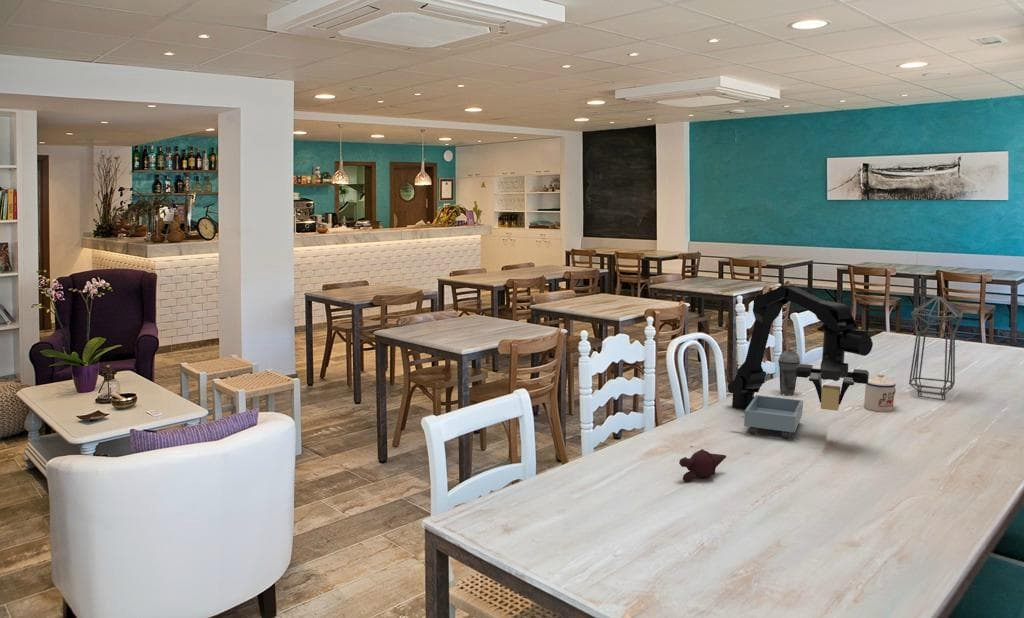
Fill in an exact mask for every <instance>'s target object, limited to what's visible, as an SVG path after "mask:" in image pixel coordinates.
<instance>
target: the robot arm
mask: <svg viewBox="0 0 1024 618" xmlns="http://www.w3.org/2000/svg"><path fill="white" fill-rule="evenodd" d="M789 303H792V304H794V305H796V306H799V307H801V308H803V309H804V310H807V311H809V312H810V313H812V314H814V315H815V317H816V319H817V320H818V321H820V322H821V323H822V325H820V327H818V328H817V332H822V333H823V340H822V341H823V344H822V355H821V357H822V358H821V362H820V368H816V367H815V368H814V367H813V364H807V363H806V364H805V363H803V364H802V363H799V365H798V367H797V368H796V377H797V378H805V379H807V378H808V381H809V382H812V383H813V385H814V387H815V390H816V394H817V396H818V401H819V403H820V404H821V394H822V387H823V385H822V384H823V383H822V381H823V380H824V381H826V380H832V381H833V382H834V381H835V382H837V381H840V379H842V382H841V386H840V396H839V406H841V403H842V401H843V400H844V399H843V398H844V396H845V394H846V392H847V390H848V388H849V387H850V386H854V385H855V384H864V385H866V384H868V379H869V377H870V375H869V374H870V373H869V371H868V370H867V369H858V368H854V369H853V371H849V363H847V362H845V353H848V354H849V353H850V354H855V355H858V356H862V357H863V356H864V357H865V356H868V355H869V354H870V353H871V352H872V349H873V346H874V344H873V340H872V337H871V336H870V335H869V331H868V330H867V329H859V326H858V324H857V322H856V320H855V319H854V317H853V314H852V311H851V308H850V306H848V305H847V304H845V303H840V302H836V301H828V300H824V299H822V298H820V297H818V296H816V295H814V294H812V293H809V292H807V291H805V290H803V289H801V288H799V287H797V286H796V285H795V284H781V285H780V286H777V288H773V289H772V290H770V291H766V292H764V293H760V294H757V295H755V297H754V299H753V303H752V304H753V307H752V313H753V316H754V319H755V320H754V324H753V327H752V332H751V337H750V341H749V345H748V348H747V352H746V355H745V360H744V362H743V363H742V364H741V365H740V367H738V369H737V372H736V374H735V376H734V379H732V381H730V383H729V384H727V390H728V393H730V394H732V401H731V406H732V407H731V408H733V409H736V410H743V411H745V410H746V408H747V407H748V406H749V404H750V403H751V401H752V400H753V399H754V397H755V393H759V392H760V390H761V387H762V386H763V384H765V380H766V379H765V378H766V376H767V371H765V370H764V369H763V366H762V364H763V363H762V362H763V360H764V356H765V352H766V347H767V343H768V340H769V336H770V332H771V328H772V325H773V323H774V321H775V320H777V318H778V317H779V316H780V314H781V311H782V309H783V306H785V305H787V304H789Z"/></svg>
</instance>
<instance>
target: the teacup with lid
mask: <svg viewBox="0 0 1024 618" xmlns="http://www.w3.org/2000/svg"><path fill="white" fill-rule="evenodd" d="M864 387H865V389H864V402H863V407H864V409H866V410H869V411H873V412H880V413H888V412H892V411H893V409H894V401H895V395H896V393H897V392H896V391H897V389H896V382H895V381H893V379H892V380H891V379H889V378H888V377H886V376H885V374H884V373H882V372H881V373H880V372H879V373H877V375H876V376H873V377H870V378H869V379H868V384H865V386H864Z"/></svg>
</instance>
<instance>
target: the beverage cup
mask: <svg viewBox="0 0 1024 618" xmlns="http://www.w3.org/2000/svg"><path fill="white" fill-rule="evenodd" d="M785 338H786V339H785V340H786V350H783V351H782V352H781V353H780V354H779V357H778V360H777V361H778V368H779V391H780V392H779V393H781V394H780V395H782V394H784V395H783V396H788V395H791V396H794V395H795V390H796V385H797V384H796V383H797V378H798V377H796V368H797V367H798V365H800V364H801V361H800V356H799V354H798V353H797V352H796V351H795V350H791V349H789V338H788V337H785Z"/></svg>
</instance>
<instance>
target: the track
mask: <svg viewBox="0 0 1024 618" xmlns="http://www.w3.org/2000/svg"><path fill="white" fill-rule="evenodd" d="M735 417H736V418H742V419H744V418H745V415H738V414H737V415H735ZM798 426H806V424H805V423H800V422H799V423H798ZM724 432H725V433H733V434H740V435H747V436H756V437H761V438H762V437H763V438H769V439H777V440H784V441H792V442H799V439H795V438H788V439H784V438H782V436H773V435H767V434H766V435H765V434H758V433H756V434H754V435H752V434H750V433H749V432H744V431H735V430H728V429H725V430H724Z"/></svg>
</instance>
